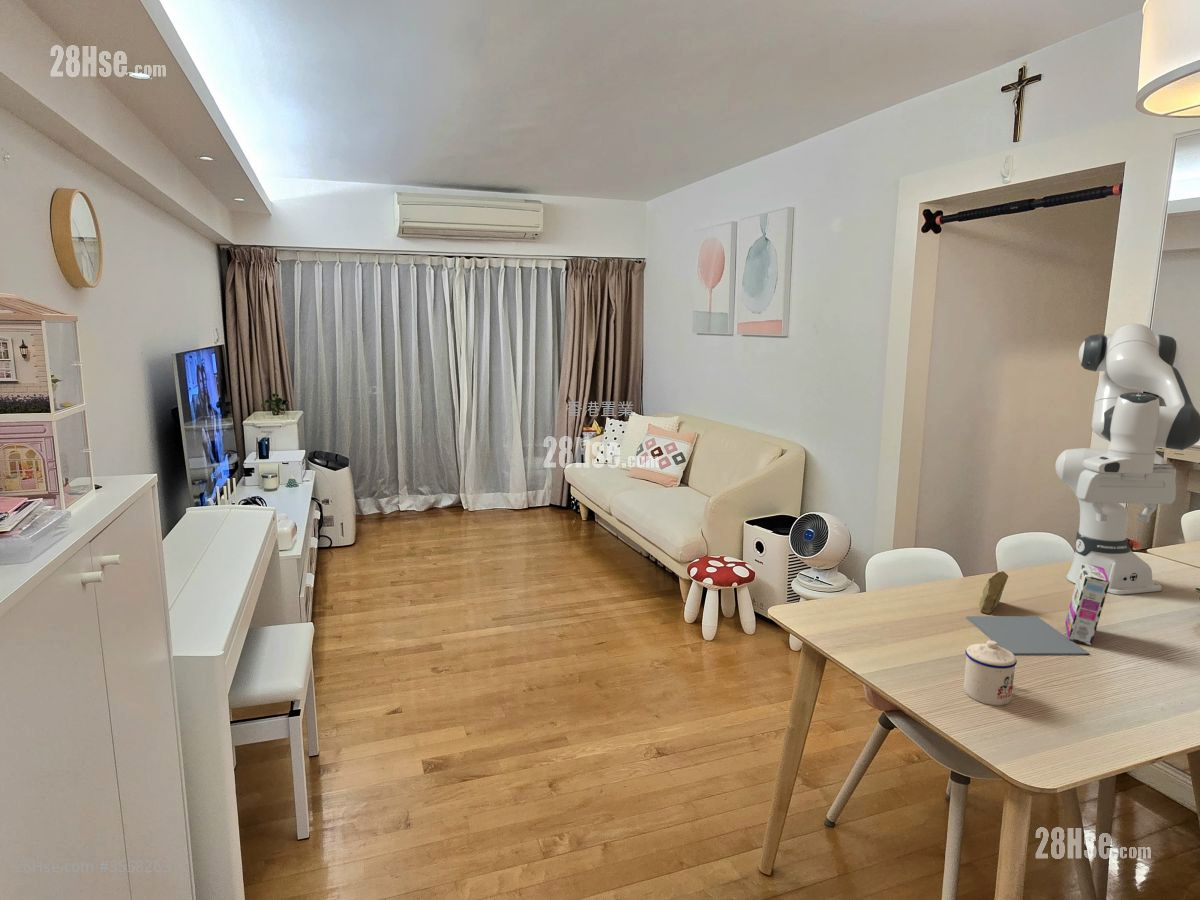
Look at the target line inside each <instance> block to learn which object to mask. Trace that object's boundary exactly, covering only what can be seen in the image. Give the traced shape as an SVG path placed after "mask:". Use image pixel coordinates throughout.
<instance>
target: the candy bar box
mask: <svg viewBox="0 0 1200 900" xmlns="http://www.w3.org/2000/svg"><path fill="white" fill-rule="evenodd" d="M1109 583H1110V582H1109V579H1108V577H1107V575H1106V572H1105V570H1104V568H1102V567H1098V566H1093V565H1089V564H1084V563H1081V567H1080V571H1079V574H1078V578H1077V581H1076V584H1075V586H1074V590H1073V593H1072V597H1071V599H1070V600H1071V601H1070V604H1069V607H1068V612H1067V616H1066V618H1065V622H1064V623H1065V628H1066V632H1067V638H1068V639H1069V640H1072V641H1073V642H1075V643H1080V644H1082V645H1083V644H1084V645H1087V646H1093V642H1094V639H1095V635H1096V632H1097V628H1098V625H1099V621H1100V617H1101V615H1102V611H1103V607H1104V604H1105V600H1106V596H1107V595H1108V594H1107V593H1108V592H1107V590H1108V587H1109Z"/></svg>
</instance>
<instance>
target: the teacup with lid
mask: <svg viewBox="0 0 1200 900" xmlns="http://www.w3.org/2000/svg"><path fill="white" fill-rule="evenodd" d="M965 656H966V657H965V658H966V659H965V668H964V679H963V680H964V682H963V691H964V693H965V694H966V695H967V696H968V697H969V698H971V699H972V700H975V701H977V702H980V703H982V704H986V705H992V706H1004V705H1007V704H1009V703H1010V702H1011V701H1012V698H1013V690H1014V688H1013V687H1014V678H1015V669H1016V665H1017V662H1018V660H1017V657H1016V655H1014V654H1012V653H1011V652H1010V651H1008V650H1006V649H1004V648H1002V647H1000V646H998V644H997V642H995V641H993V640H991V639H990V640H989V639H988V640H987V641H986V643H985V642H984V643H974V644H970V645H968V647H967V648H966V649H965Z"/></svg>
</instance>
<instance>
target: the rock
mask: <svg viewBox="0 0 1200 900" xmlns="http://www.w3.org/2000/svg"><path fill="white" fill-rule="evenodd" d="M1008 578H1009V575H1008V574H1007V573H1006V572H1005V571H998V572H996V573H995V574H994V575H992V576H991V577H990V578H989V579H988V580H987V583H985V586H984V587H983V589H982V595H981V597H980V600H979V603H978V605H979V606H980V610H979V611H980V612H982V613H984V614H988V615H990V614H991V613H992V611H993V610H994V609H995V608H996V607H997V606H998V605H999V603H1000V601H1001V598H1002V594H1003V591H1004V589H1005V585H1006V583H1007V581H1008Z"/></svg>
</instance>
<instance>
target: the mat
mask: <svg viewBox="0 0 1200 900" xmlns="http://www.w3.org/2000/svg"><path fill="white" fill-rule="evenodd" d="M965 618H966V619H967V620H968V621H969V622H970V623H971V622H972V624H973V625H974V626H975V627H976V628H977V629H978V630H980V631H981V632H982V633H983V634H984V635H986V637H988V638H989V639H990V640H993V641H995V642H997V644H998V646H1000V647H1002V648H1004V649H1006V650H1008V651H1010V652H1011V653H1012V654H1014V656H1019V655H1020V656H1051V655H1052V656H1076V655H1078V656H1085V655H1084V654H1089V655H1090V652H1088V651H1087V650H1086V649H1084V648H1083V647H1081V646H1080V645H1079V644H1077V642H1075V641H1072V640H1069V639H1068V636H1066V635H1065V634H1063V633H1061V632H1060V631H1059V630H1058V629H1056V628H1055V627H1053V626H1052V625H1050V624H1049V623H1048V622H1046V621H1045V620H1044V619H1042V618H1040V617H1039V616H1038V615H1037V616H1035V615H1029V616H1028V615H1024V616H1023V615H1019V616H1018V615H1017V616H1016V615H1015V616H1014V615H1006V616H1004V615H1003V616H999V615H995V616H994V615H992V616H991V615H990V616H988V615H987V616H984V615H982V616H981V615H979V616H977V615H975V616H972V615H971V616H970V615H969V616H967V615H966V616H965ZM1069 654H1070V655H1069ZM1080 654H1082V655H1080Z"/></svg>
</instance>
